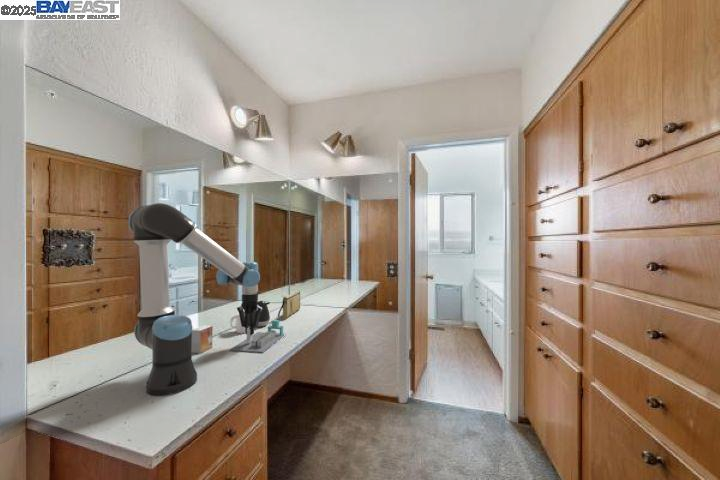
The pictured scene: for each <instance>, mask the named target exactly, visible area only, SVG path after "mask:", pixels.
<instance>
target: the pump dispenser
mask: <svg viewBox="0 0 720 480" xmlns="http://www.w3.org/2000/svg"><path fill="white" fill-rule="evenodd" d="M268 305H270V301H268V302H266V301H264V300H258V306H260V307H263V309H262V311H261V314H260V318H259V323H258V326H256V327H258V328H262V327H265V326H267V325H268V324H269V322H270V319H271V315H270V311H269V307H268ZM256 312H257V309H256V310H255V316H256Z"/></svg>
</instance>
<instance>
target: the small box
mask: <svg viewBox="0 0 720 480" xmlns="http://www.w3.org/2000/svg"><path fill="white" fill-rule="evenodd" d="M212 348H213V325H204V324H203V325H200V326H198V327H196V328H192V354H202V353H204V352H206V351H207V350H210V349H212Z"/></svg>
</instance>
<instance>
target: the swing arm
mask: <svg viewBox="0 0 720 480" xmlns="http://www.w3.org/2000/svg"><path fill="white" fill-rule="evenodd" d="M263 333H264V334H262V335H261V336H259V337H258V338H256V339H254V340H253V341H252V347H254V348H256V347H257V341H259V340H260V339H262V338H263V337H265V336H266V335H268V334H269V333H271V332H268V331H266V332H263Z"/></svg>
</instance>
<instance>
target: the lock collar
mask: <svg viewBox="0 0 720 480" xmlns="http://www.w3.org/2000/svg"><path fill="white" fill-rule="evenodd" d="M272 330H279V333H280V335H282V334H284V326H283V325H280V320H279V319H273V320H271V325H269V326H268V327H267V332H271V331H272Z"/></svg>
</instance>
